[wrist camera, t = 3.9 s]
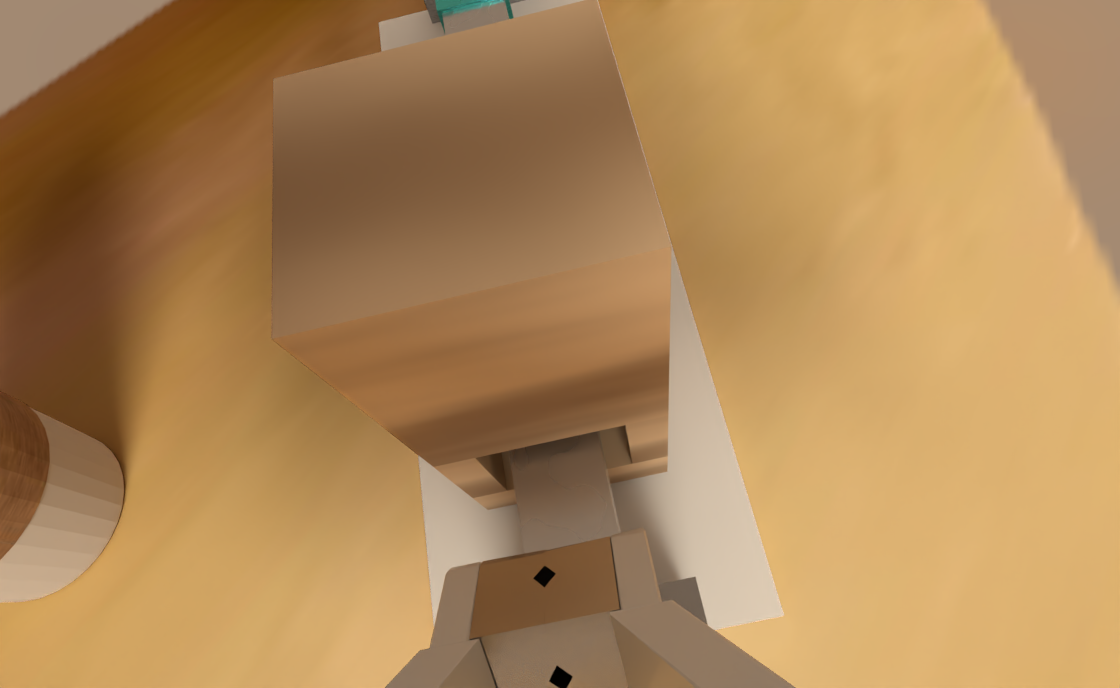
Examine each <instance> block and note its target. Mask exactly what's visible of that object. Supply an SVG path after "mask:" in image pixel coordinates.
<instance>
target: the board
mask: <svg viewBox="0 0 1120 688" xmlns="http://www.w3.org/2000/svg"><path fill="white" fill-rule="evenodd" d="M580 1H584V0H524V1H520V2H516V3H512V4H511V8H512V12H513V16H514V18H516V17H520V16H524V15H528V14H532V13H536V12H540V11H544V10H548V9H552V8H556V7H560V6H564V5H568V4H572V3H576V2H580ZM597 2H598V0H597ZM598 5H599V3H598ZM599 8H600V6H599ZM600 12H601V9H600ZM601 15H602V13H601ZM602 18H603V16H602ZM603 22H604V19H603ZM604 25H605V23H604ZM605 28H606V26H605ZM379 31H380V42H381V51H385V50H389V49H393V48H397V47H401V46H405V45H409V44H413V43H417V42H421V41H425V40H429V39H433V38H437V37H441V36H445V33H444V30H443V27H442V24H441V22H437V23H434V24H432V21H431V18H430V16H429V13H428V10H425V11H421V12H417V13H413V14H409V15H405V16H401V17H397V18H393V19H389V20H386V21H382V22H379ZM606 32H607V29H606ZM607 35H608V32H607ZM608 38H609V36H608ZM609 41H610V39H609ZM610 45H611V42H610ZM611 48H612V46H611ZM612 51H613V49H612ZM613 55H614V52H613ZM614 58H615V56H614ZM615 61H616V59H615ZM616 65H617V62H616ZM617 68H618V65H617ZM618 71H619V69H618ZM619 75H620V72H619ZM620 78H621V75H620ZM621 81H622V79H621ZM622 84H623V82H622ZM623 88H624V85H623ZM624 91H625V89H624ZM625 94H626V92H625ZM626 98H627V95H626ZM627 101H628V98H627ZM628 104H629V102H628ZM629 108H630V105H629ZM630 111H631V108H630ZM631 114H632V112H631ZM632 118H633V115H632ZM633 121H634V118H633ZM634 124H635V122H634ZM635 127H636V125H635ZM636 131H637V128H636ZM637 134H638V131H637ZM638 137H639V135H638ZM639 141H640V138H639ZM640 144H641V141H640ZM641 147H642V145H641ZM642 151H643V148H642ZM643 154H644V151H643ZM644 157H645V155H644ZM645 161H646V158H645ZM646 164H647V161H646ZM647 167H648V164H647ZM648 170H649V168H648ZM649 174H650V171H649ZM650 177H651V174H650ZM651 180H652V178H651ZM652 184H653V181H652ZM653 187H654V184H653ZM654 190H655V188H654ZM655 194H656V191H655ZM656 197H657V194H656ZM657 200H658V197H657ZM658 204H659V201H658ZM659 207H660V204H659ZM660 210H661V207H660ZM661 213H662V211H661ZM662 217H663V214H662ZM663 220H664V217H663ZM664 223H665V221H664ZM665 227H666V224H665ZM666 230H667V227H666ZM667 233H668V231H667ZM668 237H669V234H668ZM669 240H670V237H669ZM670 243H671V240H670ZM418 458H419V469H420V480H421V491H422V502H423V513H424V524H425V535H426V546H427V557H428V568H429V579H430V590H431V601H432V612H433V623H434V625H435V621H436V616H437V611H438V607H439V602H440V598H441V593H442V589H443V584H444V579H445V575H446V573H447V572H448V570H449V569H450V568H452V567H457V566H462V565H467V564H472V563H477V562H483V561H487V560H492V559H498V558H503V557H508V556H514V555H519V554H524V548H523V541H522V535H521V528H520V522H519V515H518V509H517V504H514V505H510V506H505V507H500V508H496V509H491V510H487V509H486V508H484V507H483V506H482V505H481V504H479V503H478V502H477V501H476V500H474V499H473V498H472V497H471V496H469V495H468V494H467V493H466V492H464V491H463V490H462V489H460V488H459V487H458V486H457V485H455V484H454V483H453V482H452V481H450V480H449V479H448V478H447V477H445V476H444V475H443V474H442V473H440V472H439V471H438V470H436V469H435V468H434V467H433V466H431V465H430V464H429V463H428V462H426V461H425V460H424V459H423V458H421V457H420V456H419V455H418ZM611 489H612V493H613V498H614V503H615V507H616V512H617V516H618V521H619V526H620V530H621V533H622V532H626V531H630V530H634V529H638V528H642V527H643V528H644V530H645V531H646V535H647V539H648V544H649V548H650V552H651V557H652V561H653V566H654V570H655V574H656V579H657V583H658V584H662V583H667V582H672V581H676V580H681V579H686V578H691V577H696V581H697V585H698V589H699V592H700V596H701V600H702V604H703V608H704V612H705V616H706V620H707V624H708V626H709V627H711V628H712V629H714V630H718V629H723V628H728V627H733V626H737V625H742V624H747V623H752V622H757V621H762V620H767V619H772V618H777V617H781V616H784V613H783V610H782V607H781V604H780V600H779V597H778V594H777V590H776V587H775V584H774V580H773V577H772V574H771V571H770V567H769V564H768V561H767V557H766V554H765V551H764V547H763V544H762V541H761V538H760V534H759V531H758V528H757V524H756V521H755V518H754V514H753V511H752V508H751V505H750V501H749V498H748V495H747V491H746V488H745V485H744V481H743V478H742V475H741V472H740V468H739V465H738V462H737V458H736V455H735V452H734V448H733V445H732V442H731V438H730V435H729V432H728V429H727V425H726V422H725V419H724V415H723V412H722V409H721V405H720V402H719V399H718V396H717V392H716V389H715V386H714V382H713V379H712V376H711V372H710V369H709V366H708V363H707V359H706V356H705V353H704V349H703V346H702V343H701V339H700V336H699V333H698V330H697V326H696V323H695V320H694V316H693V313H692V310H691V306H690V303H689V300H688V297H687V293H686V290H685V287H684V283H683V280H682V277H681V273H680V270H679V267H678V264H677V260H676V257H675V254H674V250H673V247H672V244H671V300H670V356H669V411H668V467H667V472H663V473H659V474H654V475H649V476H645V477H640V478H635V479H631V480H626V481H621V482H617V483H612V484H611Z"/></svg>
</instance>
